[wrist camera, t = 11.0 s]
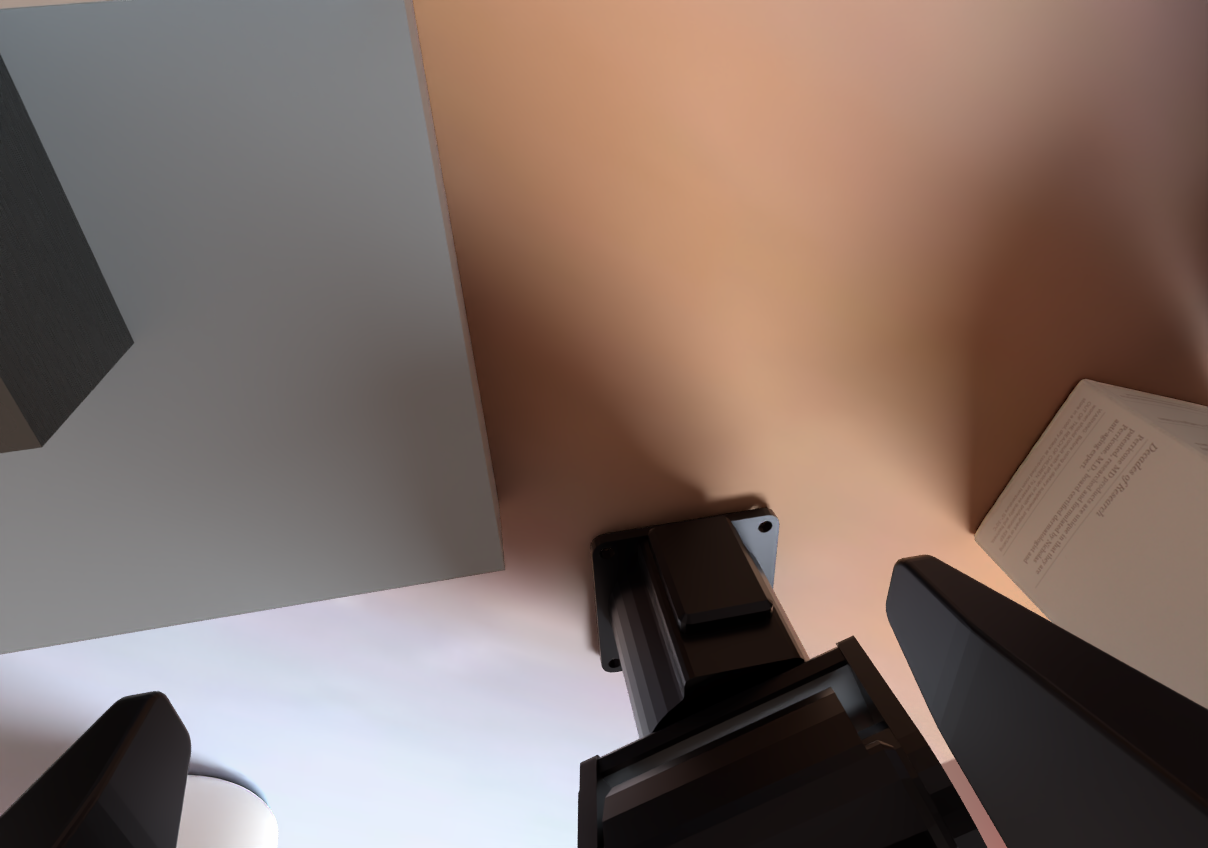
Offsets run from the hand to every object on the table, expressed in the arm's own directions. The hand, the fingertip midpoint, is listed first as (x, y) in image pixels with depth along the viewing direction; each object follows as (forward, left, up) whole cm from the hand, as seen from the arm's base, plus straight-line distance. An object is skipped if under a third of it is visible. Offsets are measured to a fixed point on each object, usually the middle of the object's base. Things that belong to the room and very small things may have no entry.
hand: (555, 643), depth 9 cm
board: (+1, +9, -12) cm, 15 cm away
